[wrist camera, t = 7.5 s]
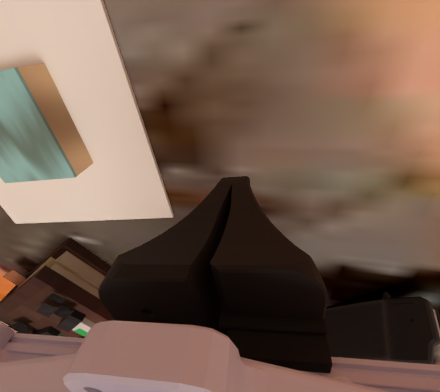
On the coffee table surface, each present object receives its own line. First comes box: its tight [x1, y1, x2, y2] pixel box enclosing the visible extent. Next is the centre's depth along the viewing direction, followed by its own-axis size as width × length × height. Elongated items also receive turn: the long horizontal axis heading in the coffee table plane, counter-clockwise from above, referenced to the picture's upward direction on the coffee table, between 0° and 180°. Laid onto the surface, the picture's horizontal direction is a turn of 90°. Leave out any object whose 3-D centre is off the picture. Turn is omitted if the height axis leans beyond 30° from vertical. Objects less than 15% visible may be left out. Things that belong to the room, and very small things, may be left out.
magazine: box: [324, 291, 440, 365], centre depth 32 cm, size 17×3×30 cm
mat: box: [0, 0, 174, 224], centre depth 23 cm, size 24×22×1 cm
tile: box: [0, 63, 93, 183], centre depth 21 cm, size 9×3×8 cm
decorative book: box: [0, 238, 115, 338], centre depth 38 cm, size 19×8×30 cm
